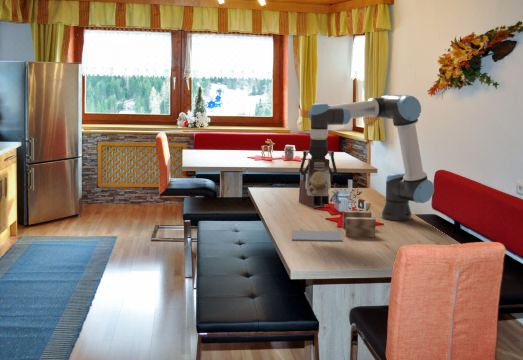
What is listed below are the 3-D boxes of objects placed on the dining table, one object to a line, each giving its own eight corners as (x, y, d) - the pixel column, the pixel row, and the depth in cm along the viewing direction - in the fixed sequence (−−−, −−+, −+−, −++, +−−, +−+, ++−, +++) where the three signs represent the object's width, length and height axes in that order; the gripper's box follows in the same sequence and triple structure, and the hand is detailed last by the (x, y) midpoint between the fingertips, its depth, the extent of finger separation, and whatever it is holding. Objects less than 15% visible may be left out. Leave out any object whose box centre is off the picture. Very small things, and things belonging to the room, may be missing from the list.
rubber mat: (339, 232, 310) (339, 231, 310) (342, 241, 292) (342, 240, 292) (291, 231, 311) (291, 230, 311) (292, 240, 293) (292, 239, 293)
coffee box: (308, 196, 295) (308, 159, 293) (306, 193, 302) (307, 158, 299) (328, 196, 296) (329, 160, 293) (326, 193, 302) (327, 158, 300)
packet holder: (369, 227, 321) (370, 211, 320) (375, 236, 301) (375, 219, 300) (342, 226, 322) (343, 210, 320) (346, 236, 302) (346, 218, 301)
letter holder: (312, 208, 368) (313, 183, 366) (298, 202, 387) (299, 178, 385) (329, 207, 372) (329, 182, 370) (314, 201, 390) (314, 177, 388)
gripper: (343, 138, 298) (341, 187, 301) (293, 137, 299) (293, 187, 302) (344, 139, 291) (343, 190, 294) (294, 139, 292) (293, 189, 295)
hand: (317, 188), depth 298 cm, fingers closed on coffee box, 9 cm apart
